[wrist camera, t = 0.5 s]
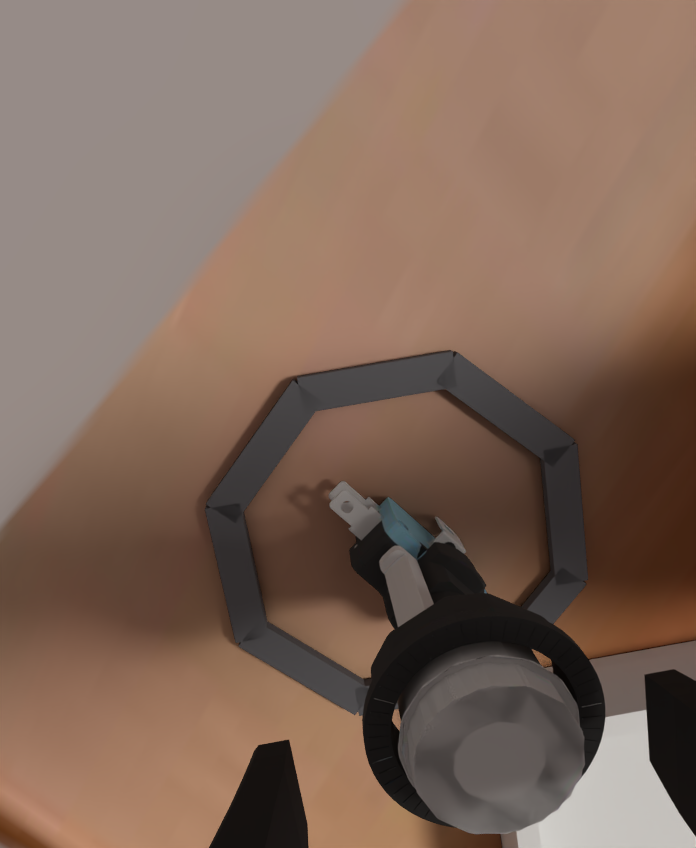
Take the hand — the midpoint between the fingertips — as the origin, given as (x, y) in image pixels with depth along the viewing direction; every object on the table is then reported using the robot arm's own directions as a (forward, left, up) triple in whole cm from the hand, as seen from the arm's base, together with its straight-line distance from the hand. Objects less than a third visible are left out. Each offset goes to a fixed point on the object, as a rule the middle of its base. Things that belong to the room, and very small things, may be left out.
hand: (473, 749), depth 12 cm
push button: (0, 0, -10) cm, 10 cm away
